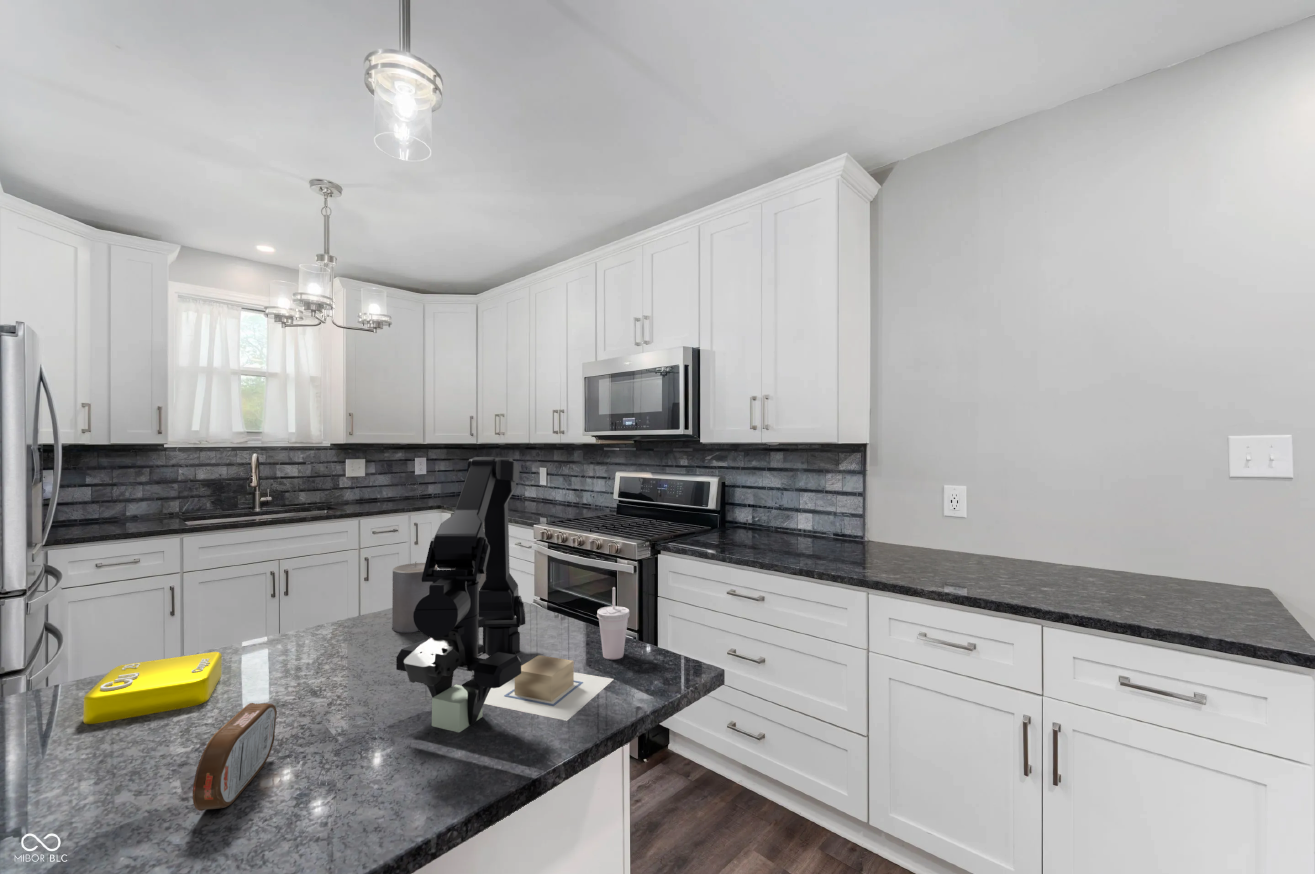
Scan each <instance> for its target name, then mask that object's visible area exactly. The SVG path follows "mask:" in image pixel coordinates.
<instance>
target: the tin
mask: <svg viewBox="0 0 1315 874" xmlns="http://www.w3.org/2000/svg"><path fill="white" fill-rule="evenodd" d="M277 715H278V710H277V707H276V705H274V704H273V703H268V702H267V703H265V702H264V703H254V702H250V703H247V704H246V705H245V706H244V707H242V708H241V710H239V711H238V712H237V713H236V714H235V715H234V716H233V717H232V718H230V720H228V721H227V722H226V723H225V724H224V725H222V727H220V728H219V729H218V730H216V732H215V733H214V734H212V736H211V738H210V739H209V741H208V742H207V744H206V746H205V748H204V749H203V752H202V753H201V757H200V759H199V762H198V764H197V767H196V771H195V776H194V779H193V785H192V802H193V807H194V808H195V809H196V810H197V811H199V812H200V811H206V810H216V809H224V808H227V807H229V806H230V805H232V804H233V803H234V802H235V801H236V799H238V797H239V796H240V795H241V794H242V792H243V791H244V790H245V789H246V788H247V786H248V785H249V784H250V783H251V782H252V780H253V779H254V778H255V777H256V776H257V775H258V773H259V772H260V771H261V770H262V769H263V767H264V766H265V764H266V762H267V761H268V759H269V757H270V754H271V752H272V748H273V746H274V742H275V732H276V721H277Z"/></svg>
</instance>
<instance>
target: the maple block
mask: <svg viewBox="0 0 1315 874" xmlns="http://www.w3.org/2000/svg"><path fill="white" fill-rule="evenodd" d="M574 665H575V662H574V660H572V659H566V658H558V657H553V656H546V655H540V654H538V655H537V656H534V658H532V659H530V660H528V661H527V662H525V663H523V664H521V674H520V675H518V676H517V677H515V695H520V696H525V697H530V698H535V699H540V700H546V701H551V702H552V701H553V700H554V699H555V698H557V697H558V696H559V695H561V694H562V693H563V692H564V691H566V690H567V689H568V688H569V687H571V686H572V685H573V684H574V672H575V670H574V669H575V668H574Z"/></svg>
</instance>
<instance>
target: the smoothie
mask: <svg viewBox="0 0 1315 874" xmlns="http://www.w3.org/2000/svg"><path fill="white" fill-rule="evenodd" d="M630 615H631V614H630V609H629V608H627V607H624V606H618V605H616V587H615V586H613V587H612V606H611V605H610V606H604V607H600V608H599V609H597V614H596V617H597V618H598V623H599V632H600V641H601V649H602V650H601V651H602V657H603V658H604V659H606V660H620V659H621V658H623V657H624V653H625V645H626V636H627V629H628V620H629V617H630Z"/></svg>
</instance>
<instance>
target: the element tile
mask: <svg viewBox="0 0 1315 874" xmlns="http://www.w3.org/2000/svg"><path fill="white" fill-rule="evenodd" d="M222 657H223V655H222V653H221V652H219V651H211V652H205V653H204V652H203V653H197V654H191V655H182V656H175V657H170V658H162V659H155V660H148V661H141V662H140V661H139V662H134V663H133V662H132V663H126V664H120V665H118V666H115V667H114V668H112V669H110V670H109V672H108V673H107V674H105V676H103V678H102V679H101V680H99V681H98V682H97V683H96V684H95V685H94V686H93V687H92V688H91V689H90V690H89V691H88V692H87V693H86V694H85V695H84V697H83V714H82V715H83V717H82V722H83V723H84V724H85V725H95V724H101V723H107V722H113V721H118V720H123V719H129V718H130V719H131V718H135V717H141V716H147V715H151V714H156V713H157V714H158V713H163V712H168V711H174V710H175V711H176V710H180V709H186V708H191V707H194V706H195V707H196V706H199V705H201V704H204V703H206V702H207V701H209V699H210V698H211V696H212V695H213V692H214V691H215V688H216V687H217V684H218V683H219V681H220V679H221V678H222V663H223V662H222V661H223V658H222Z"/></svg>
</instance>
